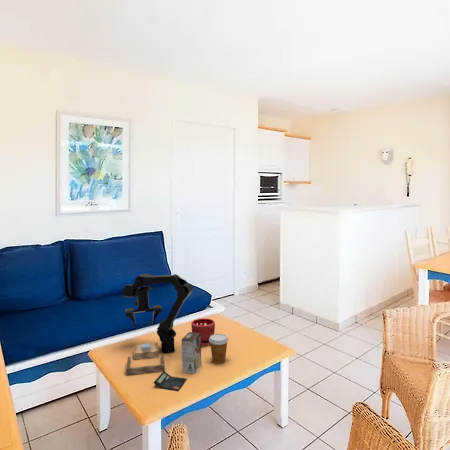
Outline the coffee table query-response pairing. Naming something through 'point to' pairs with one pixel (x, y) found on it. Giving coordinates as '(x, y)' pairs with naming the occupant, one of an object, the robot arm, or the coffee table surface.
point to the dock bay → (145, 368)
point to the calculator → (169, 382)
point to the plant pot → (204, 329)
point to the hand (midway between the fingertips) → (144, 326)
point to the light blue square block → (146, 347)
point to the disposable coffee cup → (218, 347)
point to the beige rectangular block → (146, 352)
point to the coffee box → (191, 352)
